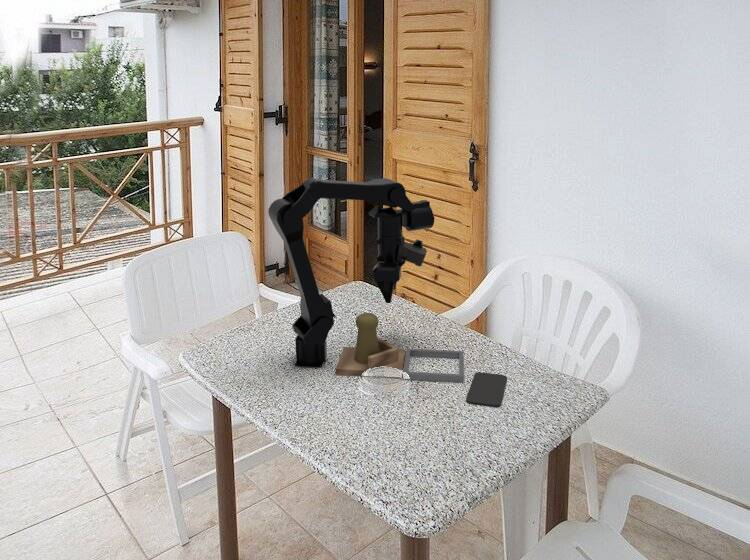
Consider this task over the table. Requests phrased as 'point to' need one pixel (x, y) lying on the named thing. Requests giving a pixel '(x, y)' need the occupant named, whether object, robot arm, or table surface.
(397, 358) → the dog kennel
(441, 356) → the steel collar
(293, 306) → the table surface
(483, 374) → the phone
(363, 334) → the cork
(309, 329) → the robot arm
